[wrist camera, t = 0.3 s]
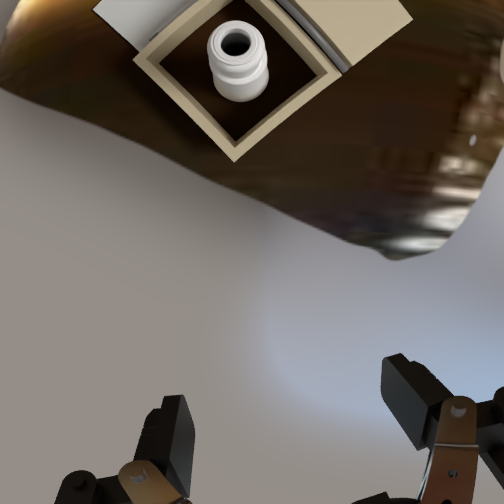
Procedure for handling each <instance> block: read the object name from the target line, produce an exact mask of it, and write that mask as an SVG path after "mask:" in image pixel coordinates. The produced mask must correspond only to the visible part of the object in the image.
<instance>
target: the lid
mask: <svg viewBox="0 0 504 504" xmlns="http://www.w3.org/2000/svg"><path fill="white" fill-rule="evenodd" d="M288 1H289V2H290V3H291V4H292V5H293V6H294V7H295V8H296V9H297V10H298V11H299V12H300V13H301V14H302V15H303V16H304V17H305V18H306V19H307V21H308V22H309V23H310V24H311V25H312V26H313V27H314V28H315V29H316V30H317V31H318V32H319V34H320V35H321V36H322V37H323V38H324V39H325V40H326V41H327V43H328V44H329V45H330V46H331V47H332V48H333V50H334V51H335V52H336V53H337V54H338V56H339V57H340V58H341V59H342V60H343V62H344V63H345V64H346V65H347V67H348V68H349V67H351V66H353V65H355V64H356V63H357V62H358V61H360V60H361V59H362V58H363V57H365V56H366V55H367V54H368V53H370V52H371V51H372V50H373V49H375V48H376V47H377V46H379V45H380V44H381V43H382V42H384V41H385V40H386V39H388V38H389V37H390V36H392V35H393V34H394V33H396V32H397V31H398V30H400V29H401V28H402V27H404V26H405V25H406V24H408V23H409V22H410V21H412V20H413V19H412V18H411V16H410V15H409V14H408V12H407V11H406V10H405V8H404V7H403V6H402V5H401V3H400V2H399V1H398V0H288Z"/></svg>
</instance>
